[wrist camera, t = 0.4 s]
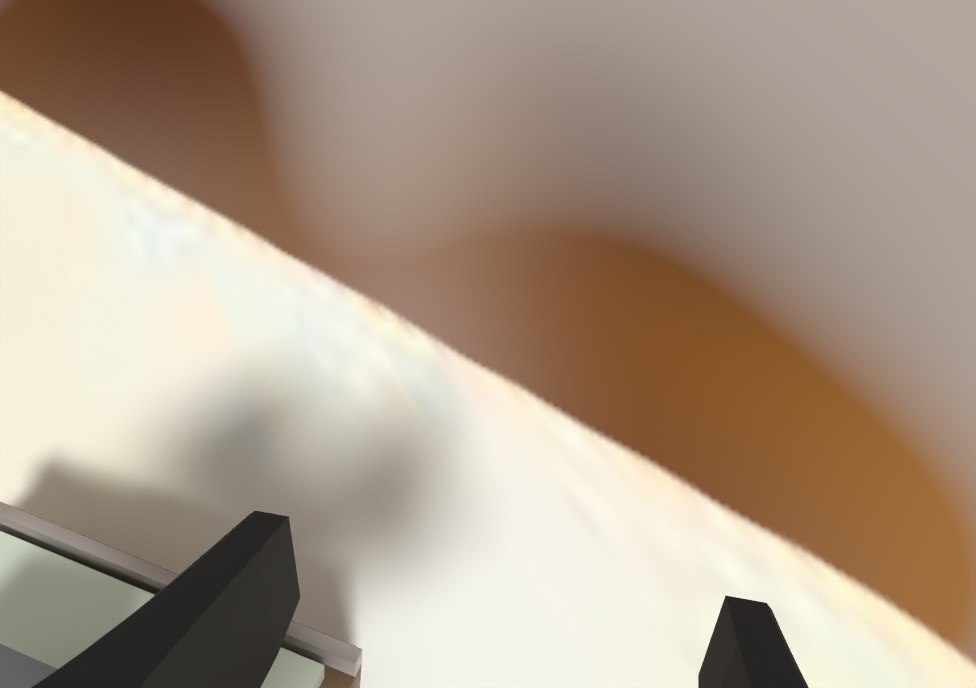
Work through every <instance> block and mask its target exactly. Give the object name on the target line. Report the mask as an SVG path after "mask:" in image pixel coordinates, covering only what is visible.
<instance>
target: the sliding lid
mask: <svg viewBox="0 0 976 688" xmlns="http://www.w3.org/2000/svg"><path fill="white" fill-rule="evenodd" d="M153 596H155V595H154V594H151V593H149V592H146V591H144V590H142V589H139V588H137V587H134V586H132V585H130V584H127V583H125V582H122V581H120V580H118V579H115V578H113V577H110V576H108V575H105V574H103V573H101V572H98V571H96V570H93V569H91V568H89V567H86V566H84V565H81V564H79V563H77V562H74V561H72V560H69V559H67V558H64V557H62V556H60V555H57V554H55V553H52V552H50V551H48V550H45V549H43V548H40V547H38V546H36V545H33V544H31V543H28V542H26V541H23V540H21V539H19V538H16V537H14V536H11V535H9V534H7V533H4V532H2V531H0V688H31V687H32V686H34V685H35V684H37V683H38V682H40V681H41V680H43V679H44V678H46V677H47V676H49V675H50V674H52V673H53V672H55V671H56V670H57V669H59V668H60V667H62V666H63V665H64V664H66V663H67V662H69V661H70V660H71V659H73V658H74V657H76V656H77V655H78V654H80V653H81V652H83V651H84V650H85V649H87V648H88V647H89V646H91V645H92V644H93V643H94V642H96V641H97V640H98V639H100V638H101V637H102V636H104V635H105V634H106V633H108V632H109V631H110V630H112V629H113V628H114V627H115V626H117V625H118V624H119V623H121V622H122V621H123V620H125V619H126V618H127V617H129V616H130V615H131V614H132V613H134V612H135V611H136V610H138V609H139V608H140V607H141V606H143V605H144V604H145V603H146V602H147V601H149V600H150V599H151V598H152V597H153ZM323 679H324V665H322V664H320V663H318V662H315V661H313V660H310V659H308V658H306V657H303V656H301V655H298V654H296V653H294V652H291V651H289V650H286V649H284V648H280V650H279V652H278V655H277V657H276V659H275V661H274V663H273V665H272V667H271V669H270V671H269V673H268V675H267V676H266V678H265V680H264V682H263V684H262V686H261V688H319V687H320V685H321V683H322V681H323Z"/></svg>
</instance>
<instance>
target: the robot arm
mask: <svg viewBox="0 0 976 688" xmlns="http://www.w3.org/2000/svg"><path fill="white" fill-rule="evenodd" d="M299 598H300V593H299V586H298V579H297V572H296V565H295V558H294V551H293V544H292V537H291V530H290V523H289V517H287V516H282V515H276V514H271V513H265V512H260V511H254V512H253V513H251V514H250V515H248V516H247V517H246V518H245V519H244V520H243V521H241V522H240V523H239V524H238V525H237V526H236V527H235V528H233V529H232V530H231V531H230V532H229V533H228V534H227V535H225V536H224V537H223V538H222V539H221V540H220V541H219V542H217V543H216V544H215V545H214V546H213V547H212V548H210V549H209V550H208V551H207V552H206V553H205V554H204V555H202V556H201V557H200V558H199V559H198V560H197V561H195V562H194V563H193V564H192V565H191V566H190V567H188V568H187V569H186V570H185V571H184V572H183V573H181V574H180V575H179V576H178V577H176V578H175V579H174V580H173V581H172V582H170V583H169V584H168V585H167V586H166V587H164V588H163V589H162V590H161V591H160V592H158V593H157V594H156V595H155V596H153V597H152V598H151V599H150V600H149V601H147V602H146V603H145V604H144V605H143V606H141V607H140V608H139V609H138V610H136V611H135V612H134V613H132V614H131V615H130V616H129V617H127V618H126V619H125V620H123V621H122V622H121V623H119V624H118V625H117V626H115V627H114V628H113V629H112V630H110V631H109V632H108V633H106V634H105V635H104V636H102V637H101V638H100V639H98V640H97V641H96V642H94V643H93V644H92V645H91V646H89V647H88V648H87V649H85V650H84V651H83V652H81V653H80V654H78V655H77V656H76V657H74V658H73V659H71V660H70V661H69V662H67V663H66V664H64V665H63V666H62V667H60V668H59V669H57V670H56V671H55V672H53V673H52V674H50V675H49V676H47V677H46V678H44V679H43V680H41V681H40V682H38V683H37V684H35V685H34V686H32V687H31V688H261V686H262V684H263V682H264V680H265V678H266V676H267V675H268V673H269V671H270V669H271V667H272V665H273V663H274V661H275V659H276V657H277V655H278V652H279V650H280V648H281V645H282V643H283V640H284V638H285V635H286V633H287V630H288V628H289V625H290V622H291V620H292V617H293V614H294V612H295V609H296V606H297V604H298V601H299ZM699 688H808V686H807V684H806V682H805V680H804V678H803V676H802V674H801V672H800V670H799V668H798V665H797V663H796V661H795V659H794V657H793V655H792V653H791V651H790V649H789V647H788V645H787V642H786V640H785V638H784V636H783V634H782V632H781V629H780V627H779V625H778V623H777V621H776V618H775V616H774V614H773V611H772V609H771V608H770V607H769V606H768V604H767V603H763V602H758V601H752V600H747V599H741V598H736V597H730V596H725V599H724V602H723V605H722V608H721V611H720V614H719V617H718V620H717V623H716V625H715V628H714V631H713V634H712V637H711V640H710V643H709V646H708V649H707V652H706V655H705V658H704V661H703V663H702V666H701V669H700V672H699Z"/></svg>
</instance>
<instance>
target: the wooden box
mask: <svg viewBox="0 0 976 688" xmlns="http://www.w3.org/2000/svg"><path fill="white" fill-rule="evenodd" d="M0 531H2V532H4V533H7V534H9V535H11V536H14V537H16V538H19V539H21V540H23V541H26V542H28V543H31V544H33V545H36V546H38V547H40V548H43V549H45V550H48V551H50V552H52V553H55V554H57V555H60V556H62V557H64V558H67V559H69V560H72V561H74V562H77V563H79V564H81V565H84V566H86V567H89V568H91V569H93V570H96V571H98V572H101V573H103V574H105V575H108V576H110V577H113V578H115V579H118V580H120V581H122V582H125V583H127V584H130V585H132V586H134V587H137V588H139V589H142V590H144V591H146V592H149V593H151V594H154V595H156V594H157V593H158V592H160V591H161V590H162V589H163V588H164V587H166V586H167V585H168V584H169V583H170V582H172V581H173V580H174V579H175V578H176V577H178V576H179V574H176V573H174V572H171V571H169V570H166V569H164V568H161V567H159V566H157V565H154V564H152V563H149V562H147V561H144V560H142V559H139V558H137V557H135V556H132V555H130V554H127V553H125V552H122V551H120V550H117V549H115V548H112V547H110V546H108V545H105V544H103V543H100V542H98V541H95V540H93V539H90V538H88V537H86V536H83V535H81V534H78V533H76V532H73V531H71V530H68V529H66V528H63V527H61V526H59V525H56V524H54V523H51V522H49V521H46V520H44V519H41V518H39V517H36V516H34V515H32V514H29V513H27V512H24V511H22V510H19V509H17V508H14V507H12V506H10V505H7V504H5V503H2V502H0ZM281 648H284V649H286V650H289V651H291V652H294V653H296V654H298V655H301V656H303V657H306V658H308V659H310V660H313V661H315V662H318V663H320V664H322V665H324V679H323V681H322V683H321V685H320V687H319V688H360V677H361V661H362V649H360V648H358V647H355V646H353V645H350V644H348V643H345V642H343V641H340V640H338V639H336V638H333V637H331V636H328V635H326V634H323V633H321V632H318V631H316V630H313V629H311V628H309V627H306V626H304V625H301V624H299V623H296V622H294V621H291V622H290V625H289V628H288V630H287V633H286V635H285V638H284V640H283V643H282V645H281Z"/></svg>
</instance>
